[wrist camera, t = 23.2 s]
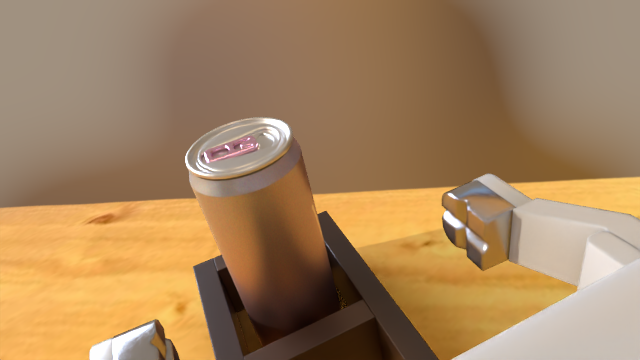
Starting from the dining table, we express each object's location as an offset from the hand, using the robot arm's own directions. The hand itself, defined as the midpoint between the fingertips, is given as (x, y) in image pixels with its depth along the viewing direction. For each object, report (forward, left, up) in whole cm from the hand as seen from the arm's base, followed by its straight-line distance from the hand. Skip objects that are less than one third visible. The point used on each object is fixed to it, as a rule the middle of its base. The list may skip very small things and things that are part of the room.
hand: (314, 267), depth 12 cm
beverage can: (-6, +11, -17) cm, 21 cm away
